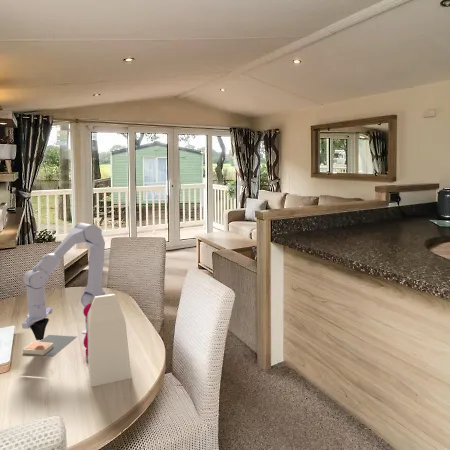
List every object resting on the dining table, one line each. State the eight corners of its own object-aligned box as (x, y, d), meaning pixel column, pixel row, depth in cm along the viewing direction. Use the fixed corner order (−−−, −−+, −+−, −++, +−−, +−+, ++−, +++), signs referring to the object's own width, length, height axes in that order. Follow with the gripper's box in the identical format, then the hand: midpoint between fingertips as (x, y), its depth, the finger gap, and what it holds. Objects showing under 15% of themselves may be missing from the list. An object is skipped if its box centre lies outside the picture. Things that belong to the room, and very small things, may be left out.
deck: (53, 342, 141) (43, 350, 135) (53, 347, 141) (43, 354, 136) (33, 341, 142) (22, 348, 136) (33, 345, 143) (23, 353, 137)
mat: (77, 337, 150) (77, 336, 150) (53, 357, 134) (53, 356, 134) (48, 335, 152) (48, 334, 152) (22, 355, 136) (21, 354, 136)
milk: (91, 386, 116) (85, 304, 113) (88, 368, 127) (83, 292, 123) (131, 377, 121) (127, 298, 117) (125, 361, 132) (121, 287, 128)
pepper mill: (83, 350, 139) (80, 297, 136) (104, 346, 142) (101, 294, 139) (85, 359, 133) (81, 304, 130) (106, 355, 136) (103, 301, 132)
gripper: (39, 296, 145) (41, 330, 147) (12, 310, 131) (16, 347, 133) (56, 297, 144) (58, 331, 146) (31, 311, 130) (34, 349, 132)
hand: (39, 339), depth 140 cm, fingers closed
